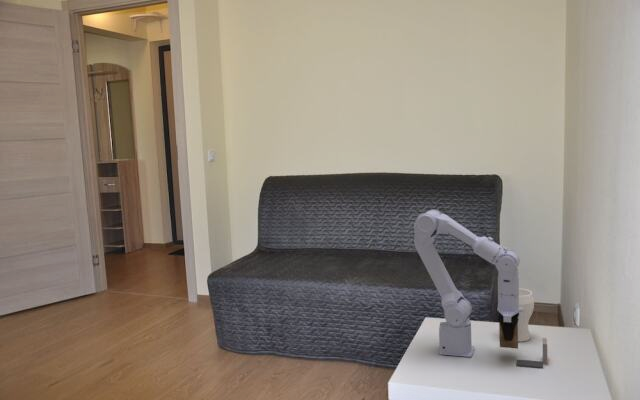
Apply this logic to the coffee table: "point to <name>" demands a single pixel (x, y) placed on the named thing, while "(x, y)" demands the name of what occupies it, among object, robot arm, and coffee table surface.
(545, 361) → the tile
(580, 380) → the coffee table surface
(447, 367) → the coffee table surface
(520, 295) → the cream vase
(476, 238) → the robot arm
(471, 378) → the coffee table surface
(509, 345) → the brown wooden block
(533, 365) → the pad
